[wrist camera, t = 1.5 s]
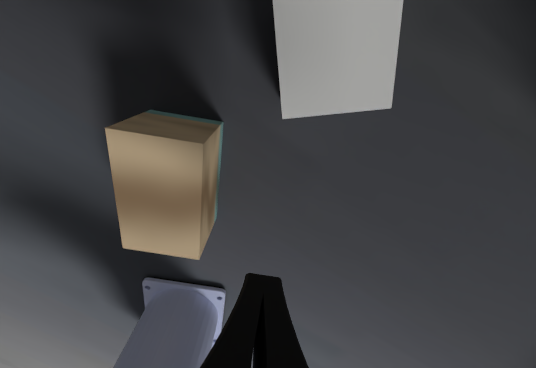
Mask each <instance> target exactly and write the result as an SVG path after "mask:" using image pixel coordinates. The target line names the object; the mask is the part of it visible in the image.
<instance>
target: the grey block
mask: <svg viewBox="0 0 536 368" xmlns="http://www.w3.org/2000/svg"><path fill="white" fill-rule="evenodd" d="M402 7H403V0H273V11H274V23H275V35H276V47H277V59H278V71H279V84H280V96H281V108H282V119H288V118H298V117H308V116H318V115H328V114H338V113H348V112H358V111H368V110H378V109H389V108H391V107H392V98H393V89H394V80H395V70H396V61H397V52H398V43H399V34H400V25H401V16H402Z"/></svg>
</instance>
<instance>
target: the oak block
mask: <svg viewBox="0 0 536 368" xmlns="http://www.w3.org/2000/svg"><path fill="white" fill-rule="evenodd" d="M105 131H106V138H107V145H108V152H109V158H110V165H111V172H112V179H113V185H114V192H115V199H116V206H117V212H118V219H119V226H120V233H121V239H122V246H123V248H125V249H131V250H138V251H144V252H151V253H158V254H164V255H171V256H177V257H184V258H190V259H197V260H199V259H200V256H201V254H202V252H203V249H204V247H205V244H206V242H207V239H208V237H209V234H210V232H211V230H212V227H213V225H214V222H215V220H216V217H217V204H218V190H219V176H220V162H221V148H222V134H223V122H221V121H215V120H209V119H203V118H197V117H191V116H185V115H179V114H173V113H167V112H161V111H155V110H148V111H146V112H143V113H141V114H138V115H136V116H133V117H131V118H128V119H126V120H123V121H121V122H118V123H116V124H113V125H111V126H108V127H106V128H105Z"/></svg>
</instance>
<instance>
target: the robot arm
mask: <svg viewBox="0 0 536 368" xmlns="http://www.w3.org/2000/svg"><path fill="white" fill-rule="evenodd" d="M142 286H143V295H144V304H145V310H144V312H143V314H142V316H141V317H140V319H139V321H138V323H137V325H136V327H135V328H134V330H133V332H132V334H131V336H130V338H129V340H128V341H127V343H126V345H125V347H124V349H123V351H122V352H121V354H120V356H119V358H118V360H117V362H116V363H115V365H114V367H113V368H251V361H252V354H253V368H309V367H308V365H307V363H306V360H305V357H304V355H303V352H302V350H301V347H300V344H299V342H298V339H297V336H296V333H295V330H294V327H293V324H292V321H291V318H290V315H289V311H288V308H287V304H286V300H285V296H284V292H283V287H282V281H281V279H280V278H279V277H273V276H266V275H259V274H253V273H248V274H246V276H245V280H244V284H243V287H242V289H241V292H240V295H239V297H238V299H237V301H236V304H235V306H234V308H233V310H232V312H231V314H230V316H229V318H228V320H227V322H226V324H225V326H224V328H223V329H222V321H223V312H224V304H225V295H226V291H225V290H224V289H222V288H216V287H209V286H202V285H196V284H189V283H182V282H176V281H169V280H162V279H155V278H148V277H147V278H145V279H144V280H143V282H142ZM221 330H222V331H221ZM253 347H254V350H253ZM211 348H212V349H211Z"/></svg>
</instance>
